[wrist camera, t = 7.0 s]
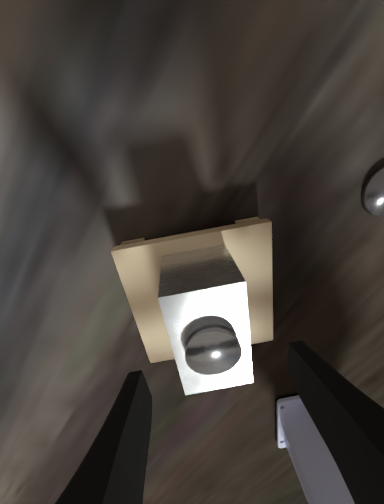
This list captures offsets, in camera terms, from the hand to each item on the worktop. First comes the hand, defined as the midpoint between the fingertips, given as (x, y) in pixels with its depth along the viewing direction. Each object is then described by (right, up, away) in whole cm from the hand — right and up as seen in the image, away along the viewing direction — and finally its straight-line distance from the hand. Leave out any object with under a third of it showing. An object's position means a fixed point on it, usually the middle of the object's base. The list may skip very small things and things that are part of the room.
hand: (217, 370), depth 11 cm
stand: (-1, +3, +7) cm, 7 cm away
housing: (-1, +3, +5) cm, 5 cm away
